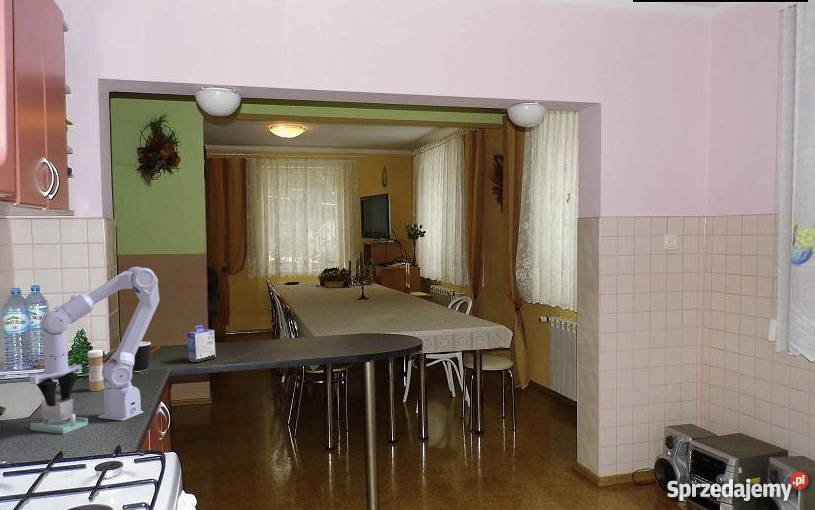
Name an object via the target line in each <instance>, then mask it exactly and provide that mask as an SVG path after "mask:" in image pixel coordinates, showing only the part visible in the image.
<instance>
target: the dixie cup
mask: <svg viewBox="0 0 815 510" xmlns="http://www.w3.org/2000/svg"><path fill="white" fill-rule="evenodd" d="M151 344H152V342H151V341H141V343H140V345H139V347H138V350H137V352H136V354H135V356H134V366H133V369H132V372H133V373H134V372H141V371H145V370H148V371H149V367H150V365H149V364H150V353H151V352H150V351H151Z"/></svg>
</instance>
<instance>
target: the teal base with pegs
mask: <svg viewBox="0 0 815 510" xmlns="http://www.w3.org/2000/svg"><path fill="white" fill-rule="evenodd" d="M42 419H43V418H42ZM88 425H89V419H88V417H82V416H81V417H79V416H76V413H73V414H71V415H70V418H69V419H66V420H63V421H56V420H49V419H43V420H42V422H41V421H40V422H38V423H36V422H30V425H29V426H30V430H32V431H37V432H44V433H51V434H52V433H53V434H60V435H64V434H67V433H70V432H72V431H75V430H77V429H80V428H82V427H86V426H88Z"/></svg>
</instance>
